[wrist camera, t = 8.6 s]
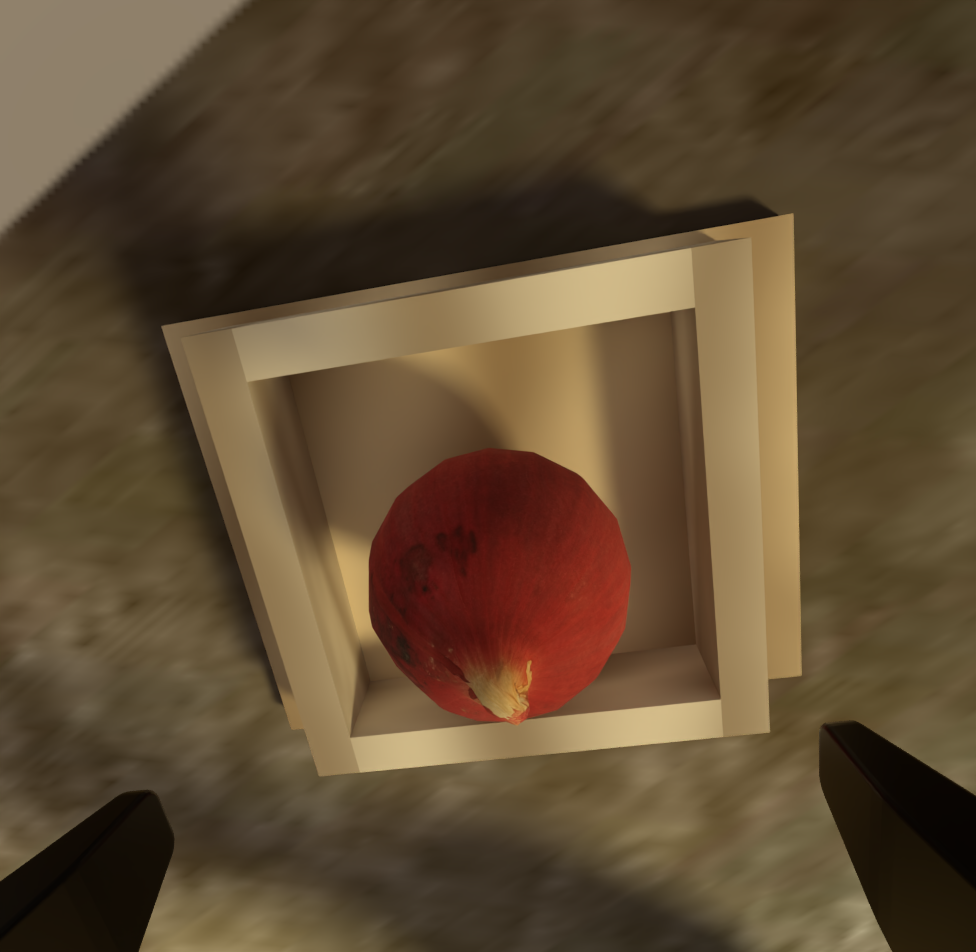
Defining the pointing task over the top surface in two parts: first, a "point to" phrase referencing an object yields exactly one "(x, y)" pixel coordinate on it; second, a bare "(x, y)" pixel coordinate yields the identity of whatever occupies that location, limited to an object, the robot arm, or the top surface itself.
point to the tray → (534, 428)
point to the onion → (499, 584)
